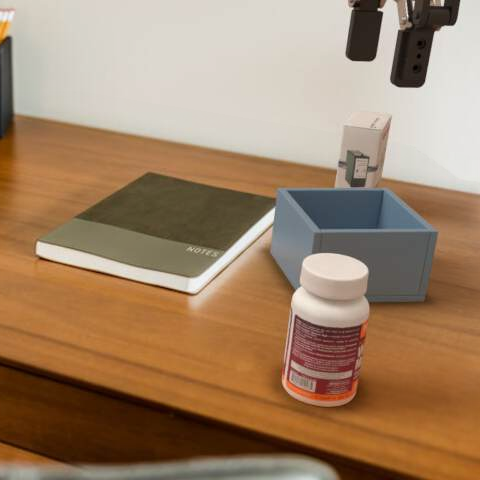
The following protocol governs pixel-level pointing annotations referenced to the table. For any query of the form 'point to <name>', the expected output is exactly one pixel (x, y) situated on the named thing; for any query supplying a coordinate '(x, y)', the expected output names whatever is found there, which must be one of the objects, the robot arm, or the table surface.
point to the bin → (356, 237)
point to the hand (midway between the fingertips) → (381, 72)
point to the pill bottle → (326, 330)
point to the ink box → (363, 150)
